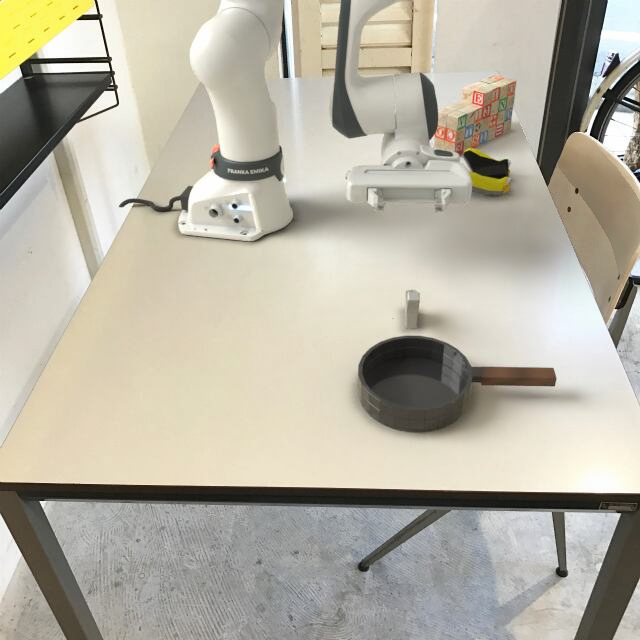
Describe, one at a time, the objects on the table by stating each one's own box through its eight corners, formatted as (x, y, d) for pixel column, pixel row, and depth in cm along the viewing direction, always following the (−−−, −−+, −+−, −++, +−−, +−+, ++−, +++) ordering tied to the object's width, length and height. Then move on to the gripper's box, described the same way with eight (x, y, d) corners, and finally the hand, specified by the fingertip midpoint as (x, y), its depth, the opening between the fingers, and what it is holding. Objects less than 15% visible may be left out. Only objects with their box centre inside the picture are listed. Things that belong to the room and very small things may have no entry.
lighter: (404, 312, 111) (406, 270, 106) (415, 312, 111) (418, 270, 106) (406, 340, 105) (407, 296, 100) (417, 340, 105) (420, 296, 100)
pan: (356, 431, 90) (356, 408, 88) (359, 356, 103) (359, 334, 100) (475, 433, 89) (478, 411, 87) (464, 357, 101) (466, 336, 99)
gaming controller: (458, 200, 141) (509, 203, 139) (460, 175, 137) (513, 177, 135) (461, 169, 152) (508, 171, 150) (463, 145, 149) (512, 147, 147)
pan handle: (470, 385, 93) (471, 376, 92) (469, 374, 95) (470, 365, 94) (555, 386, 92) (557, 378, 91) (551, 375, 94) (553, 367, 93)
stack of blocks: (454, 157, 157) (458, 103, 150) (433, 150, 161) (436, 97, 154) (510, 130, 168) (517, 79, 161) (489, 124, 172) (494, 74, 165)
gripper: (346, 152, 118) (342, 188, 107) (468, 152, 116) (477, 190, 105) (346, 186, 122) (342, 225, 111) (464, 187, 120) (473, 226, 109)
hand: (409, 208), depth 108 cm, fingers open, 8 cm apart
